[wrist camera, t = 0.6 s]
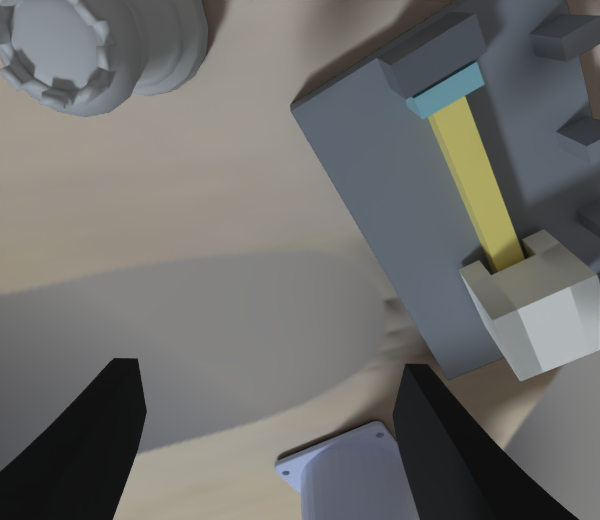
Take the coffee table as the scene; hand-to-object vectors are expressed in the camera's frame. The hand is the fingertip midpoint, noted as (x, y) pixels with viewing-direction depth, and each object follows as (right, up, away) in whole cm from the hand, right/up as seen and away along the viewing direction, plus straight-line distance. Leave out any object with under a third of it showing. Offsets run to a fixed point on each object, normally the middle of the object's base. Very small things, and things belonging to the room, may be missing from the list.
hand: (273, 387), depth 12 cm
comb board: (+9, +6, +8) cm, 14 cm away
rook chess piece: (-5, +12, +4) cm, 14 cm away
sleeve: (+11, +3, +9) cm, 14 cm away
